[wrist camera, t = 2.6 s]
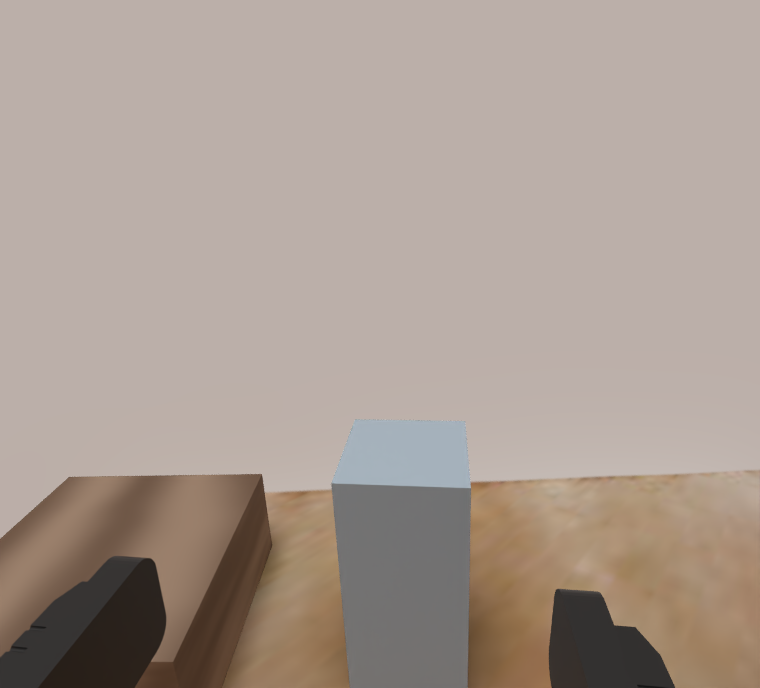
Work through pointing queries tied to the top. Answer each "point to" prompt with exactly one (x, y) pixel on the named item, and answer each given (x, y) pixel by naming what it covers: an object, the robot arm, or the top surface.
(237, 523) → the walnut block
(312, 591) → the top surface
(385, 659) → the slate block
